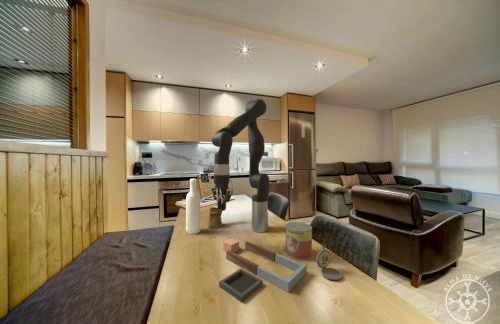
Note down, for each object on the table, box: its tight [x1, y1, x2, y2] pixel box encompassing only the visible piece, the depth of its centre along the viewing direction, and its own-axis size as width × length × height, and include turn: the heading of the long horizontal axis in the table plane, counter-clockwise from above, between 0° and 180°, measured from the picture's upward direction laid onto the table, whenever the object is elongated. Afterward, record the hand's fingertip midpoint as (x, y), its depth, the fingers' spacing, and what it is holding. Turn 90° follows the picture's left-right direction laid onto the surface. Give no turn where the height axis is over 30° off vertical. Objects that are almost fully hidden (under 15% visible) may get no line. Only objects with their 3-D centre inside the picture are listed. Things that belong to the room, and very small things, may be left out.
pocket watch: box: [315, 242, 343, 281], centre depth 67 cm, size 8×8×10 cm
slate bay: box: [256, 253, 308, 293], centre depth 66 cm, size 13×12×3 cm
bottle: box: [185, 178, 201, 235], centre depth 105 cm, size 8×8×30 cm
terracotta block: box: [223, 238, 240, 253], centre depth 84 cm, size 5×5×4 cm
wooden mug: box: [207, 195, 225, 230], centre depth 116 cm, size 9×14×18 cm, turn 143°
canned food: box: [284, 221, 313, 261], centre depth 81 cm, size 11×11×12 cm
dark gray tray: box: [218, 268, 264, 303], centre depth 60 cm, size 10×10×2 cm
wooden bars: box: [225, 241, 277, 276], centre depth 76 cm, size 13×16×3 cm
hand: (221, 209), depth 88 cm, fingers closed
